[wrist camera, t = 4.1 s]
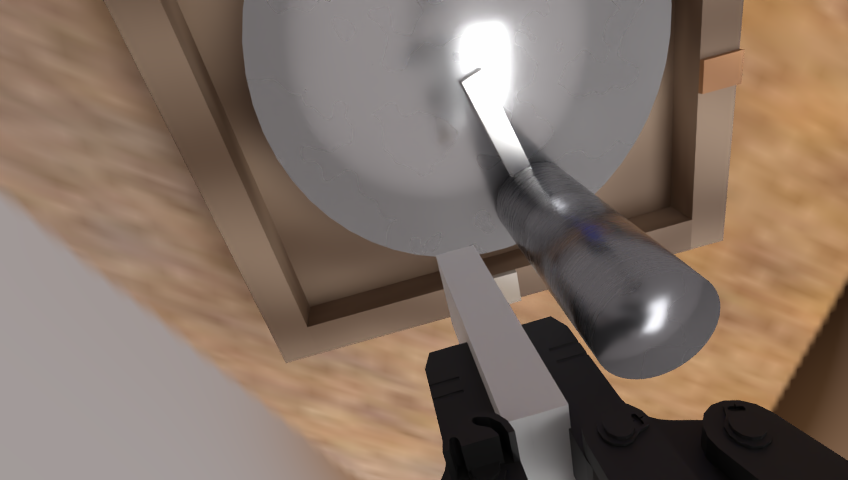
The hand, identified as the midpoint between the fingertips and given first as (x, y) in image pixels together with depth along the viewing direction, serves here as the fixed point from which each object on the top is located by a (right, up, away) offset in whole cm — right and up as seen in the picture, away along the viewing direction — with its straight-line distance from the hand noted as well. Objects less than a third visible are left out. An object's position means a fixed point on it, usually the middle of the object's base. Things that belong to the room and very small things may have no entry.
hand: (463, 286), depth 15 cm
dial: (0, +8, +2) cm, 8 cm away
